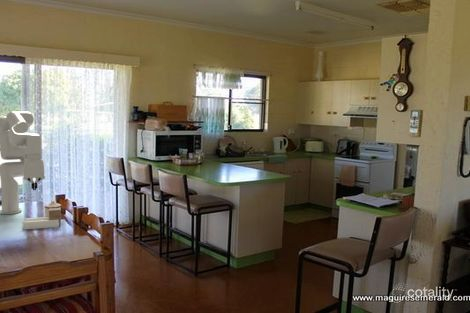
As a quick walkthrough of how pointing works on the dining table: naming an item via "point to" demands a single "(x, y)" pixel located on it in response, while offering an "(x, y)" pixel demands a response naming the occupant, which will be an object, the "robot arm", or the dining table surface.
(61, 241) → the dining table surface
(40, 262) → the dining table surface
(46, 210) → the teacup with lid
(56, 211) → the walnut block
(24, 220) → the cream rectangular tray
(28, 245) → the dining table surface
